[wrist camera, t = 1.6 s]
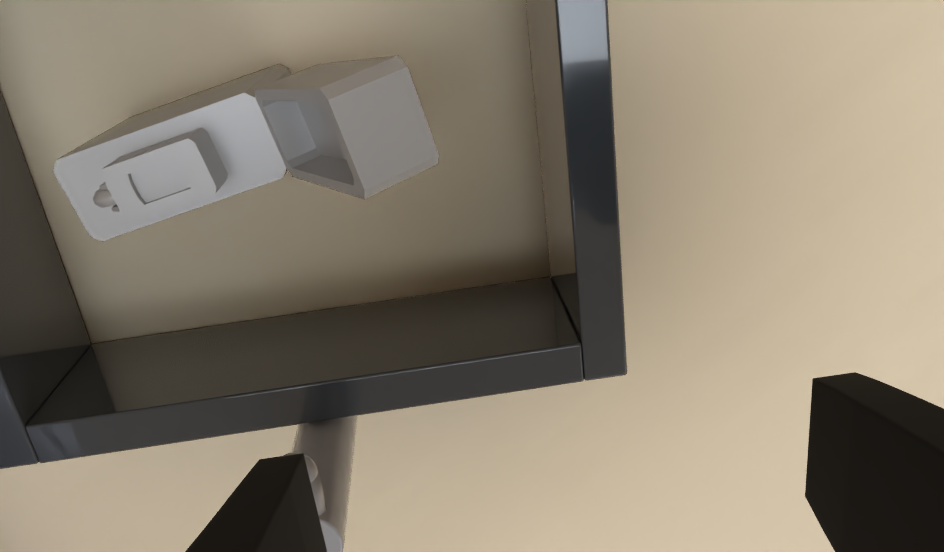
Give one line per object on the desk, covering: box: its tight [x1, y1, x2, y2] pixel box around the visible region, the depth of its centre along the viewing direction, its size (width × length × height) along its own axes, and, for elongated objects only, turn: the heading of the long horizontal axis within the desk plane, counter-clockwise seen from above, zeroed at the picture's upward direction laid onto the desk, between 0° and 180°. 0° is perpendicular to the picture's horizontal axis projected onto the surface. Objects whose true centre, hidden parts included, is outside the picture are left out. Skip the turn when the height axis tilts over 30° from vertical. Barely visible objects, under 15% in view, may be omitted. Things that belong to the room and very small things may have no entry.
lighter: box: [53, 56, 439, 242], centre depth 15 cm, size 7×2×8 cm, turn 108°
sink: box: [0, 0, 627, 552], centre depth 16 cm, size 14×15×7 cm
